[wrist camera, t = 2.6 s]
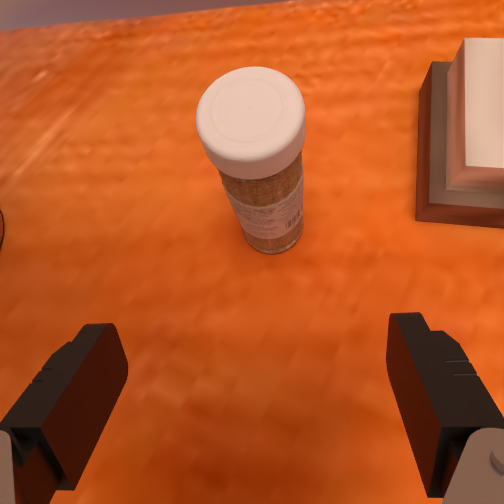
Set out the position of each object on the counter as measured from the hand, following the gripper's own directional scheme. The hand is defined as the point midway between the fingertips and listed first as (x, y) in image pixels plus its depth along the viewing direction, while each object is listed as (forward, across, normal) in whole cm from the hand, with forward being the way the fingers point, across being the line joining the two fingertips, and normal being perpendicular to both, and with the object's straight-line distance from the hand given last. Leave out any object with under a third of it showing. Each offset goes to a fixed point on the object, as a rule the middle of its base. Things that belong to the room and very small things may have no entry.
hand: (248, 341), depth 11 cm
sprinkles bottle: (+17, 0, +4) cm, 18 cm away
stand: (+20, -16, +1) cm, 26 cm away
